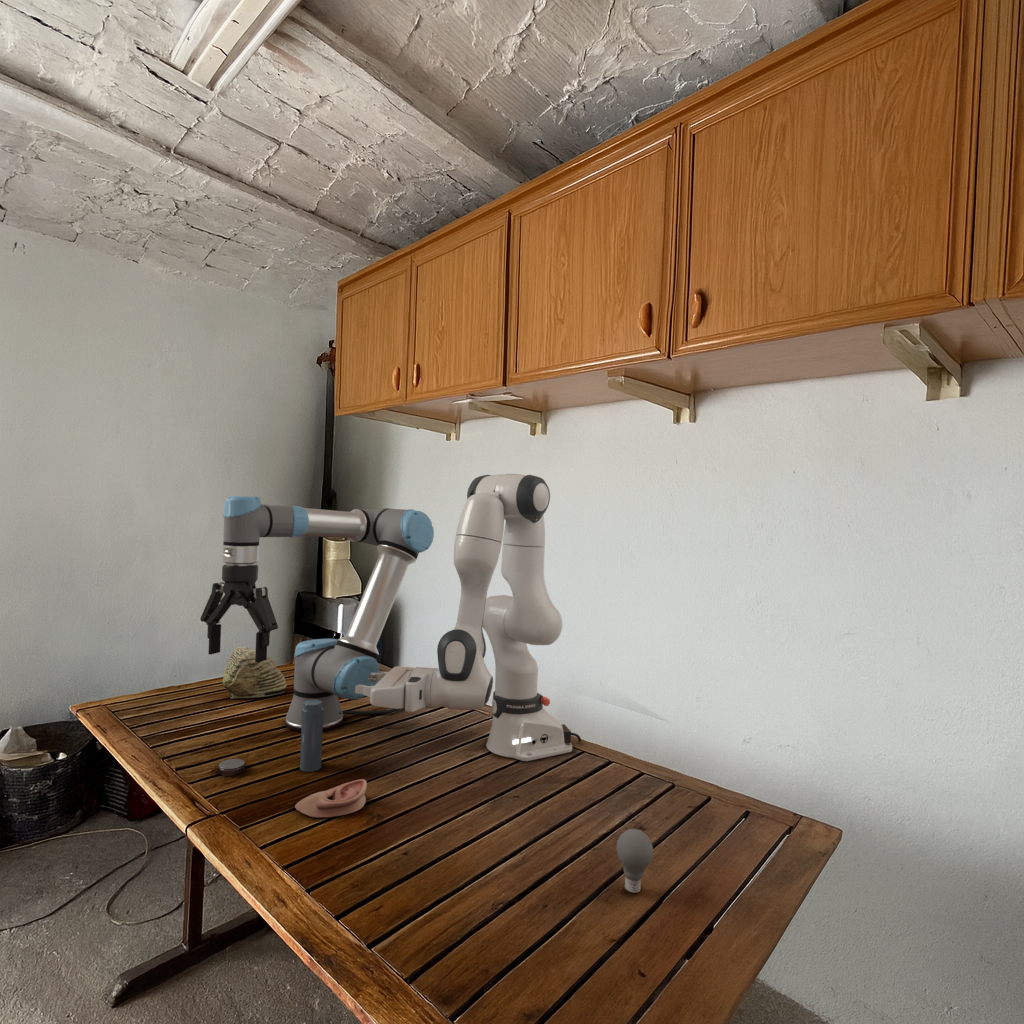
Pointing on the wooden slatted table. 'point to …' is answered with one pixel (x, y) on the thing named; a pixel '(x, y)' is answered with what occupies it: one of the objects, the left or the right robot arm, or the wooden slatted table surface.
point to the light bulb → (634, 857)
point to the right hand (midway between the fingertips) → (362, 682)
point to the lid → (231, 767)
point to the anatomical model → (335, 800)
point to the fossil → (252, 675)
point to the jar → (311, 736)
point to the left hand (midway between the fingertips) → (237, 657)
